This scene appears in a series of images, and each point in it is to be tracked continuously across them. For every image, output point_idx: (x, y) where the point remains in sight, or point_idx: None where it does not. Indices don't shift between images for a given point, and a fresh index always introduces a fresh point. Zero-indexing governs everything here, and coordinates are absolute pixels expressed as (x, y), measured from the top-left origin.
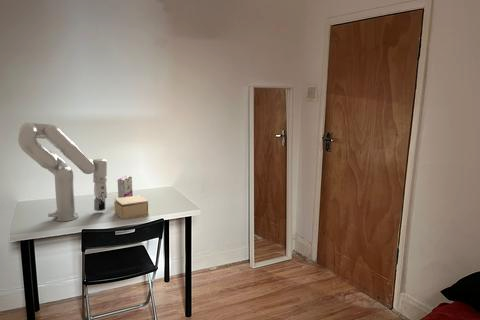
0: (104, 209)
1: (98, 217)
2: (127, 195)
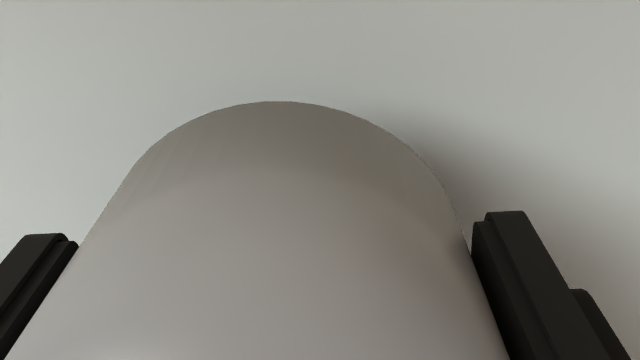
0: (421, 165)
1: (609, 294)
2: None
